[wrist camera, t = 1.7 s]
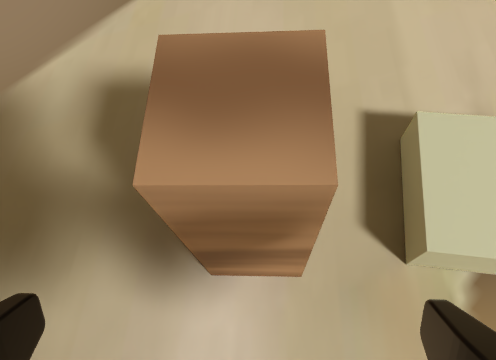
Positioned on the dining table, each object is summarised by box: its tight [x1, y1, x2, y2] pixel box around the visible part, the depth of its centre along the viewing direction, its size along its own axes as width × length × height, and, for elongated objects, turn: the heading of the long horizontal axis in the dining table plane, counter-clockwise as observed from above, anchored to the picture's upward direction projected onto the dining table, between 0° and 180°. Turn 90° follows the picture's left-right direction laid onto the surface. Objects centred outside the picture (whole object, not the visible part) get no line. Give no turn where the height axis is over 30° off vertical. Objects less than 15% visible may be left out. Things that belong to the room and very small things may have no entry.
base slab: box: [400, 111, 496, 274], centre depth 20 cm, size 8×8×3 cm
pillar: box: [133, 30, 338, 277], centre depth 15 cm, size 5×5×12 cm
